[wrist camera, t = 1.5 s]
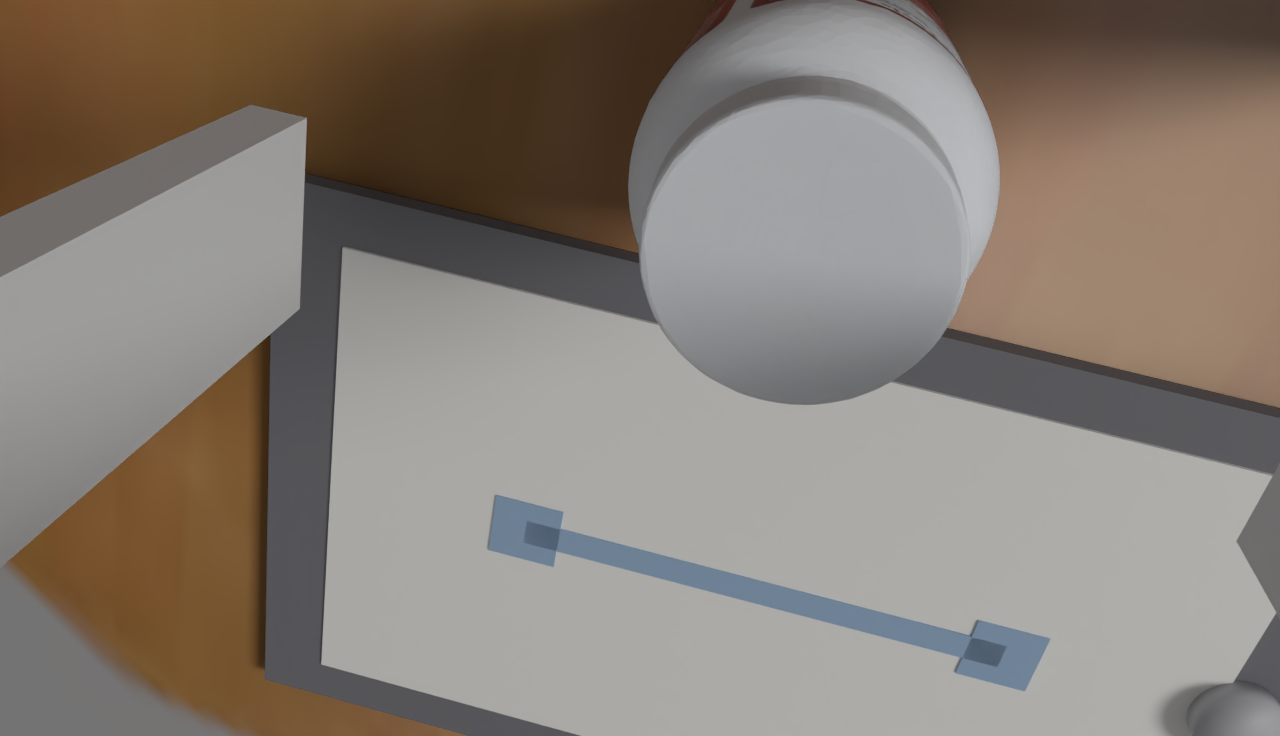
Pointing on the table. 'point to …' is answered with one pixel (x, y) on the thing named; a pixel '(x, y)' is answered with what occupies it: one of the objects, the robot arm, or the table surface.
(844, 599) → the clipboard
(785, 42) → the pill bottle
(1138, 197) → the table surface
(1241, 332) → the table surface
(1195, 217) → the table surface
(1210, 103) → the table surface
